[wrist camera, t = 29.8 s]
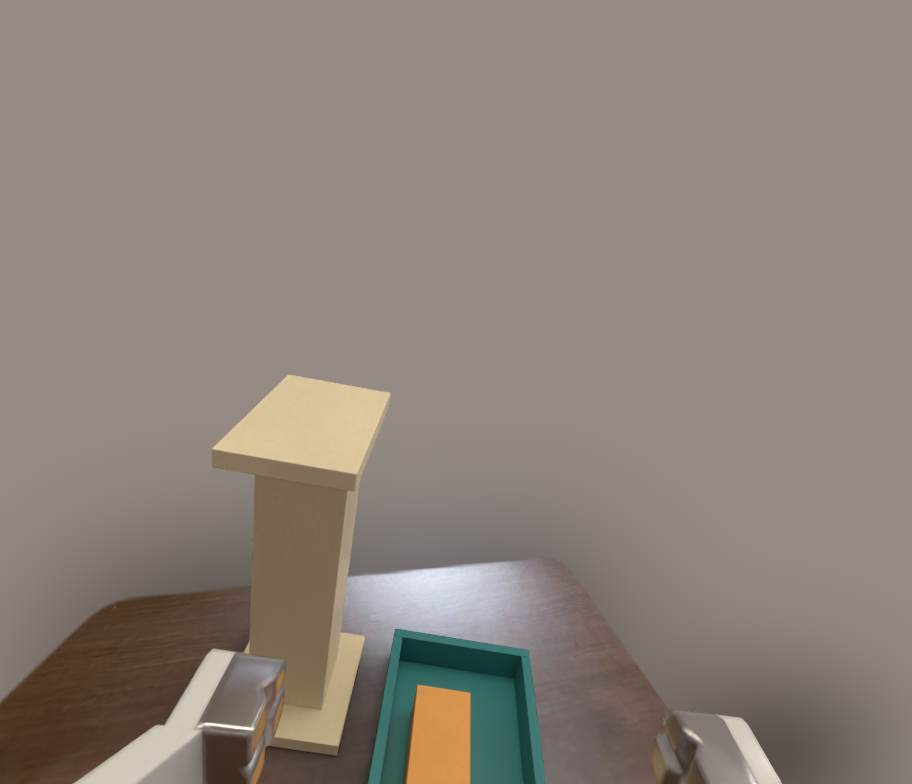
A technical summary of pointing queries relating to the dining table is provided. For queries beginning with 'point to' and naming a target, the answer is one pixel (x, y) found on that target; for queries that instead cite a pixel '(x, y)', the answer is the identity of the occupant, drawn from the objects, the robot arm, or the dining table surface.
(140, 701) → the dining table surface
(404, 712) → the tray
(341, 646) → the stand
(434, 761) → the orange rectangular bar
